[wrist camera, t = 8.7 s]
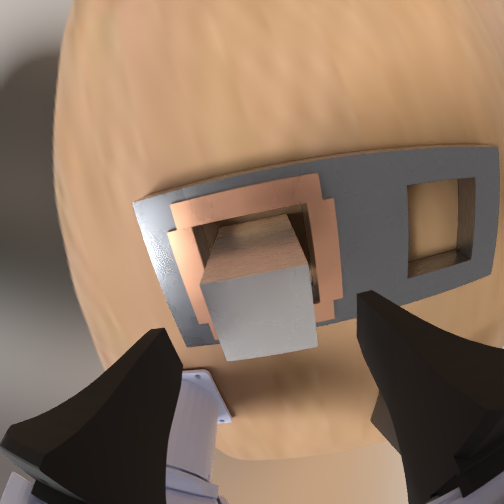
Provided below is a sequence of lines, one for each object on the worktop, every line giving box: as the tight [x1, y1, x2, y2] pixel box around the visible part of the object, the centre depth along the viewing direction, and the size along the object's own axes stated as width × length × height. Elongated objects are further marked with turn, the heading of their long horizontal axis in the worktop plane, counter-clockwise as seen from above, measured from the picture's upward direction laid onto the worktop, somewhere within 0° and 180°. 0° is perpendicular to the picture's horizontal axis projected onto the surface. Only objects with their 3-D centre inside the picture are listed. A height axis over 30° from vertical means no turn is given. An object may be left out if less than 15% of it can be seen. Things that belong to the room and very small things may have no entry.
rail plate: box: [132, 144, 500, 347], centre depth 15 cm, size 24×10×2 cm, turn 102°
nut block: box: [199, 214, 318, 362], centre depth 14 cm, size 4×4×7 cm
